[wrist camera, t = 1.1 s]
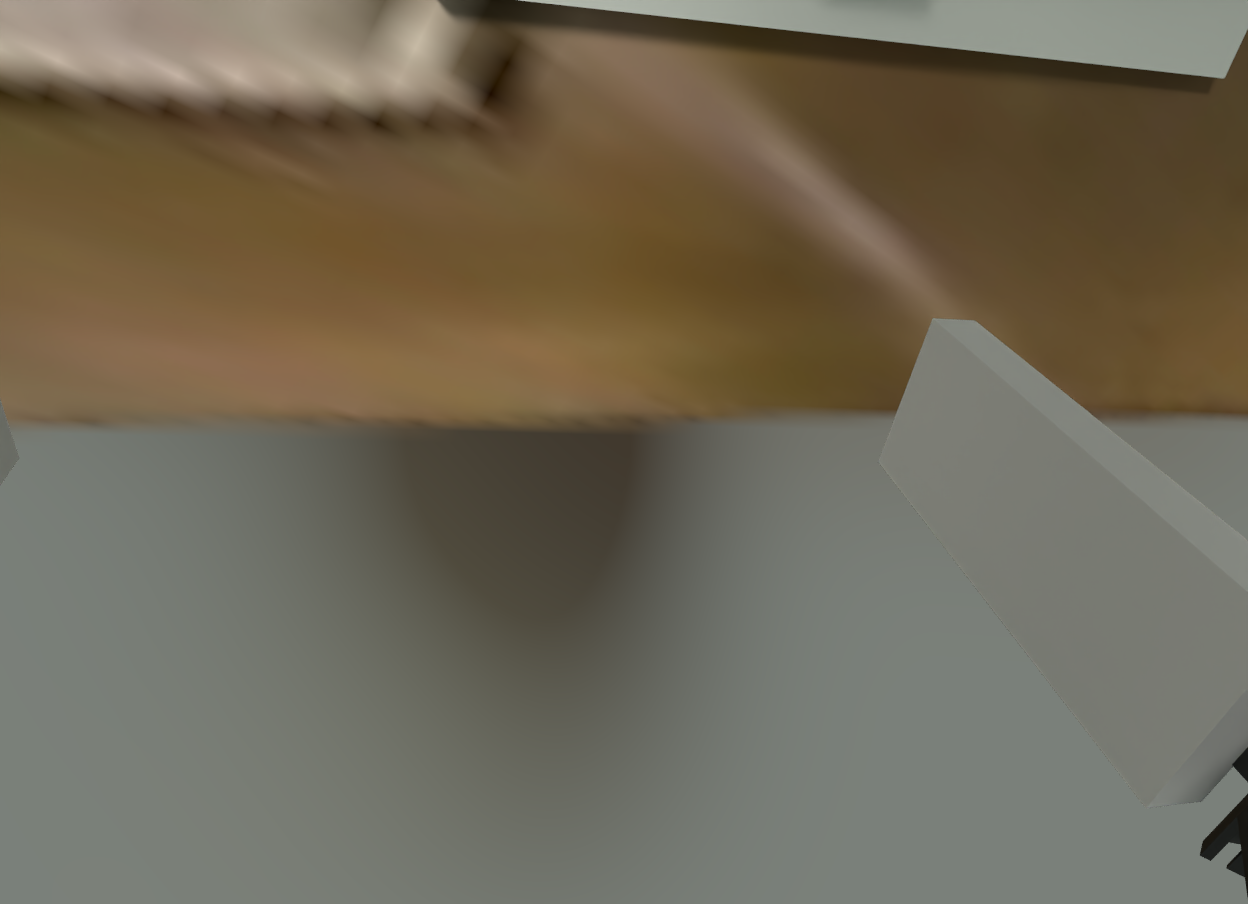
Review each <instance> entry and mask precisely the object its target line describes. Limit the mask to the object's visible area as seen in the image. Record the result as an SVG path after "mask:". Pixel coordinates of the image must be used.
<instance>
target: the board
mask: <svg viewBox="0 0 1248 904" xmlns="http://www.w3.org/2000/svg"><path fill="white" fill-rule="evenodd" d="M520 1H529V2H538V3H547V4H556V5H565V6H574V7H583V8H592V9H601V10H610V11H619V12H628V13H637V14H646V15H655V16H664V17H674V18H683V19H692V20H701V21H710V22H719V23H728V24H737V25H746V26H755V27H764V28H773V29H782V30H791V31H800V32H809V33H818V34H827V35H836V36H845V37H854V38H863V39H872V40H881V41H890V42H899V43H908V44H917V45H926V46H935V47H944V48H953V49H962V50H971V51H980V52H990V53H999V54H1008V55H1017V56H1026V57H1035V58H1044V59H1053V60H1062V61H1071V62H1080V63H1089V64H1098V65H1107V66H1116V67H1125V68H1134V69H1143V70H1152V71H1161V72H1170V73H1179V74H1188V75H1197V76H1206V77H1215V78H1225V76H1226V74H1227V72H1228V70H1229V67H1230V65H1231V63H1232V61H1233V59H1234V57H1235V55H1236V53H1237V50H1238V48H1239V46H1240V44H1241V42H1242V40H1243V38H1244V36H1245V34H1246V31H1247V29H1248V0H520Z"/></svg>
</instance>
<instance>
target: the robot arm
mask: <svg viewBox="0 0 1248 904" xmlns="http://www.w3.org/2000/svg"><path fill="white" fill-rule="evenodd" d="M18 460H19V456H18V453H17V450H16V447H15V443H14V440H13V437H12V434H11V431H10V428H9V425H8V422H7V419H6V416H5V413H4V410H3V406H2V403H1V400H0V485H1V484H2V482H3V481H4V479H5V478H6V477H7V475H8V474H9V472H10V471H11V469H12V468H13V467H14V465H15V464H16V462H17V461H18ZM878 463H879V464H880V465H881V466H882V468H883V469H884V470H885V472H886V473H887V474H888V476H889V477H890V478H891V479H892V480H893V482H894V483H895V484H896V486H897V487H898V488H899V489H900V491H901V492H902V493H903V495H904V496H905V497H906V499H907V500H908V501H909V503H910V504H911V505H912V507H913V508H914V509H915V510H916V512H917V513H918V514H919V516H920V517H921V518H922V519H923V521H924V522H925V523H926V525H927V526H928V527H929V528H930V530H931V531H932V532H933V534H934V535H935V536H936V538H937V539H938V540H939V541H940V543H941V544H942V545H943V547H944V548H945V549H946V550H947V552H948V553H949V554H950V556H951V557H952V558H953V559H954V561H955V562H956V563H957V565H958V566H959V567H960V568H961V570H962V571H963V572H964V574H965V575H966V576H967V578H968V579H969V580H970V581H971V583H972V584H973V585H974V587H975V588H976V589H977V591H978V592H979V593H980V594H981V596H982V597H983V598H984V599H985V601H986V602H987V603H988V605H989V606H990V607H991V609H992V610H993V611H994V612H995V614H996V615H997V616H998V618H999V619H1000V620H1001V622H1002V623H1003V624H1004V625H1005V627H1006V628H1007V629H1008V631H1009V632H1010V633H1011V634H1012V636H1013V637H1014V638H1015V640H1016V641H1017V642H1018V643H1019V645H1020V646H1021V647H1022V649H1023V650H1024V651H1025V653H1026V654H1027V655H1028V656H1029V658H1030V659H1031V660H1032V662H1033V663H1034V664H1035V666H1036V667H1037V668H1038V669H1039V671H1040V672H1041V673H1042V674H1043V676H1044V677H1045V678H1046V680H1047V681H1048V682H1049V684H1050V685H1051V686H1052V687H1053V689H1054V690H1055V691H1056V693H1057V694H1058V695H1059V697H1060V698H1061V699H1062V700H1063V702H1064V703H1065V704H1066V705H1067V707H1068V708H1069V709H1070V711H1071V712H1072V713H1073V715H1074V716H1075V717H1076V719H1077V720H1078V721H1079V722H1080V724H1081V725H1082V726H1083V727H1084V729H1085V730H1086V731H1087V733H1088V734H1089V735H1090V737H1091V738H1092V739H1093V741H1094V742H1095V743H1096V744H1097V746H1098V747H1099V748H1100V750H1101V751H1102V752H1103V753H1104V755H1105V756H1106V757H1107V759H1108V760H1109V761H1110V762H1111V763H1112V765H1113V766H1114V768H1115V769H1116V770H1117V772H1118V773H1119V774H1120V775H1121V777H1122V778H1123V779H1124V781H1125V782H1126V783H1127V784H1128V786H1129V787H1130V788H1131V790H1132V791H1133V792H1134V794H1135V795H1136V796H1137V797H1138V799H1139V800H1140V801H1141V803H1142V804H1143V805H1144V806H1145V807H1146V808H1152V807H1161V806H1169V805H1177V804H1185V803H1194V802H1201V801H1202V800H1203V799H1204V798H1205V797H1206V796H1207V795H1208V793H1210V792H1211V790H1212V789H1213V788H1214V787H1215V786H1216V785H1217V784H1218V783H1219V782H1220V780H1221V779H1222V778H1223V777H1224V776H1225V775H1226V774H1227V773H1228V772H1229V770H1230V769H1231V768H1232V767H1233V766H1234V767H1235V769H1236V770H1237V771H1238V772H1239V773H1240V774H1241V775H1242V776H1243V777H1244V778H1245V780H1246V781H1247V782H1248V540H1246V539H1245V538H1244V537H1243V536H1241V535H1240V534H1239V533H1238V532H1237V531H1235V530H1234V529H1233V528H1232V527H1230V526H1229V525H1228V524H1227V523H1225V522H1224V521H1223V520H1222V519H1220V518H1219V517H1218V516H1217V515H1216V514H1214V513H1213V512H1212V511H1211V510H1209V509H1208V508H1207V507H1206V506H1204V505H1203V504H1202V503H1200V502H1199V501H1198V500H1197V499H1196V498H1194V497H1193V496H1192V495H1190V494H1189V493H1188V492H1187V491H1186V490H1184V489H1183V488H1182V487H1181V486H1180V485H1178V484H1177V483H1176V482H1175V481H1173V480H1172V479H1171V478H1169V477H1168V476H1167V475H1166V474H1165V473H1163V472H1162V471H1161V470H1159V469H1158V468H1157V467H1156V466H1155V465H1153V464H1152V463H1151V462H1150V461H1148V460H1147V459H1146V458H1145V457H1144V456H1142V455H1141V454H1140V453H1139V452H1137V451H1136V450H1135V449H1134V448H1132V447H1131V446H1130V445H1129V444H1127V443H1126V442H1125V441H1124V440H1123V439H1121V438H1120V437H1119V436H1117V435H1116V434H1115V433H1114V432H1113V431H1111V430H1110V429H1109V428H1108V427H1106V426H1105V425H1104V424H1103V423H1101V422H1100V421H1099V420H1098V419H1096V418H1095V417H1094V416H1093V415H1092V414H1090V413H1089V412H1088V411H1087V410H1085V409H1084V408H1083V407H1082V406H1080V405H1079V404H1078V403H1077V402H1075V401H1074V400H1073V399H1072V398H1070V397H1069V396H1068V395H1067V394H1065V393H1064V392H1063V391H1062V390H1061V389H1059V388H1058V387H1057V386H1056V385H1054V384H1053V383H1052V382H1051V381H1049V380H1048V379H1047V378H1046V377H1044V376H1043V375H1042V374H1041V373H1039V372H1038V371H1037V370H1036V369H1034V368H1033V367H1032V366H1031V365H1029V364H1028V363H1027V362H1026V361H1025V360H1023V359H1022V358H1021V357H1020V356H1018V355H1017V354H1016V353H1015V352H1013V351H1012V350H1011V349H1010V348H1008V347H1007V346H1006V345H1005V344H1003V343H1002V342H1001V341H1000V340H998V339H997V338H996V337H995V336H994V335H992V334H991V333H990V332H989V331H987V330H986V329H985V328H984V327H982V326H981V325H980V324H979V323H977V322H976V321H974V320H954V319H935V318H933V319H932V322H931V324H930V327H929V330H928V332H927V335H926V337H925V340H924V343H923V345H922V348H921V351H920V353H919V356H918V358H917V361H916V364H915V366H914V369H913V371H912V374H911V377H910V379H909V382H908V384H907V387H906V390H905V392H904V395H903V398H902V400H901V403H900V405H899V408H898V411H897V413H896V416H895V418H894V421H893V424H892V426H891V429H890V432H889V434H888V437H887V439H886V442H885V445H884V447H883V450H882V452H881V455H880V458H879V460H878ZM1228 842H1231V843H1236V844H1241V851H1240V852H1239V853H1238V855H1236V857H1234V858H1233V860H1232V861H1231V862H1230V863H1229V864H1228V865H1227V869H1229V870H1231V871H1233V872H1235V873H1237V874H1239V875H1241V876H1244V877H1245V881H1246V889H1247V896H1248V794H1247V795H1246V796H1245V797H1244V798H1243V800H1242V801H1241V802H1240V803H1239V804H1238V805H1237V806H1236V807H1235V808H1234V809H1233V810H1232V811H1231V812H1230V813H1229V814H1228V815H1227V816H1226V817H1225V818H1224V820H1223V821H1222V822H1221V823H1220V824H1219V825H1218V826H1217V827H1216V828H1215V829H1214V830H1213V831H1212V832H1211V833H1210V834H1209V835H1208V836H1207V837H1206V838H1205V840H1204V841H1203V843H1202V848H1201V852H1200V856H1202V857H1204V858H1206V859H1208V860H1210V861H1211V860H1212V859H1213V858H1214V857H1215V856H1216V855H1217V854H1218V853H1219V852H1220V851H1221V850H1222V849H1223V848H1224V847H1225V846H1226V844H1228Z"/></svg>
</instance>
